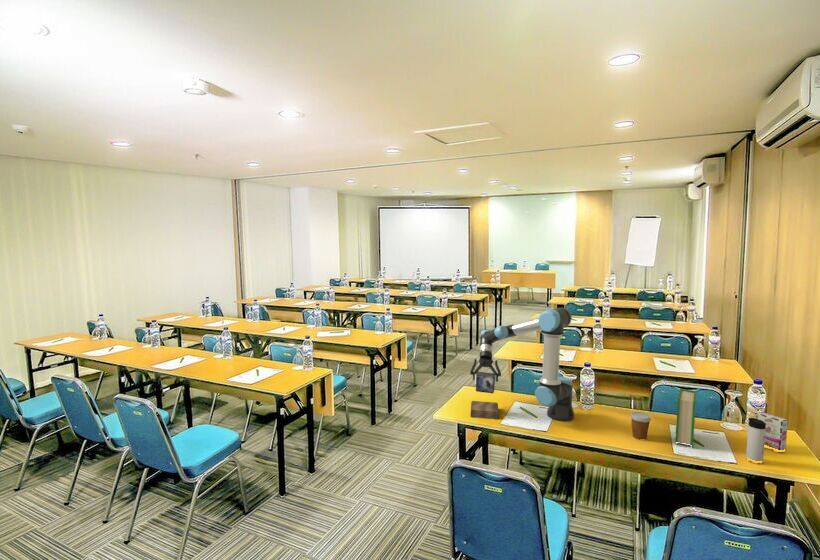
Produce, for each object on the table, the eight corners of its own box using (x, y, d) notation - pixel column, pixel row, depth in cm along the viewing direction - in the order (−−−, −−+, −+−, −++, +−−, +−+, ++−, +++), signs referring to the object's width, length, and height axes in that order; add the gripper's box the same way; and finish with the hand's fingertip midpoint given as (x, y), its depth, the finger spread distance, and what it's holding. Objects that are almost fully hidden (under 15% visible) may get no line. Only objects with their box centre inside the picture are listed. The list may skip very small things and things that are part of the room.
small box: (475, 391, 252) (475, 374, 251) (476, 388, 258) (477, 371, 257) (493, 393, 249) (493, 376, 248) (494, 390, 255) (495, 373, 254)
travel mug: (742, 456, 203) (745, 416, 201) (759, 458, 201) (762, 417, 200) (748, 463, 197) (751, 421, 195) (765, 465, 195) (769, 423, 194)
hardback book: (692, 448, 211) (695, 401, 209) (675, 444, 215) (677, 398, 213) (693, 435, 226) (696, 391, 224) (677, 432, 230) (679, 388, 228)
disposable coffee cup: (651, 442, 217) (652, 419, 216) (630, 439, 220) (631, 417, 219) (648, 434, 226) (649, 412, 225) (628, 432, 229) (629, 410, 228)
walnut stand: (497, 408, 261) (497, 402, 260) (498, 419, 245) (498, 412, 245) (471, 406, 263) (471, 400, 263) (470, 417, 248) (470, 410, 247)
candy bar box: (786, 452, 208) (788, 419, 207) (779, 454, 206) (782, 421, 205) (760, 442, 218) (762, 411, 217) (754, 443, 217) (756, 412, 215)
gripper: (504, 357, 265) (505, 390, 251) (467, 355, 269) (465, 387, 255) (505, 351, 259) (506, 384, 245) (466, 348, 263) (465, 381, 249)
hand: (485, 385), depth 250 cm, fingers closed on small box, 11 cm apart
